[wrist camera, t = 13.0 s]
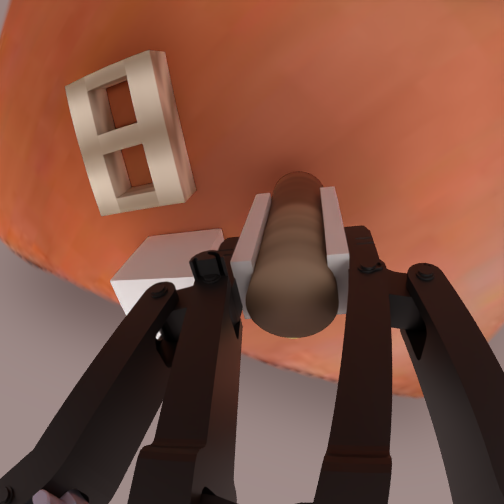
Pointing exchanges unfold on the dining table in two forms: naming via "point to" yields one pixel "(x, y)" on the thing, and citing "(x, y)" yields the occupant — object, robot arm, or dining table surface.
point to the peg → (293, 263)
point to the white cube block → (162, 263)
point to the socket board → (132, 135)
